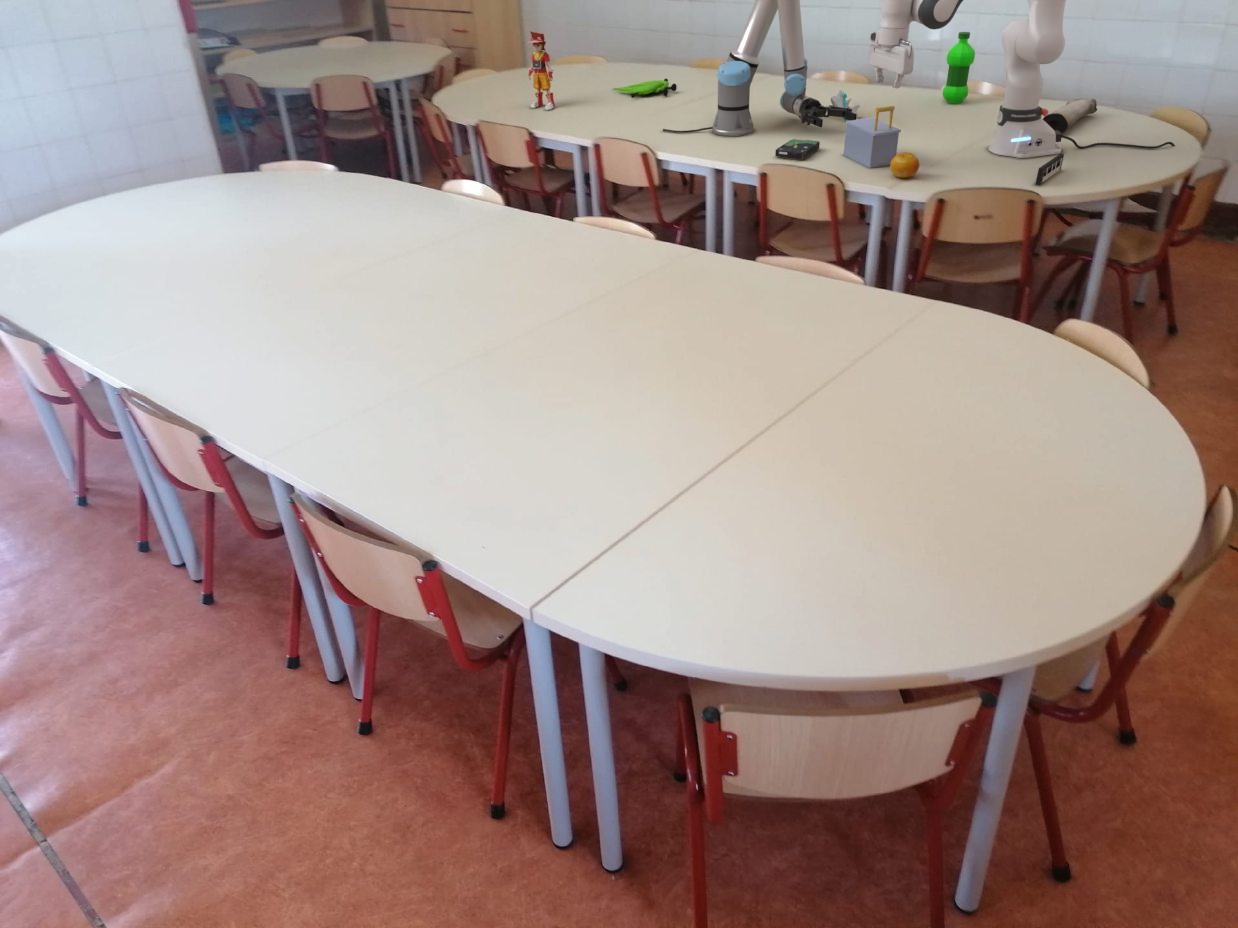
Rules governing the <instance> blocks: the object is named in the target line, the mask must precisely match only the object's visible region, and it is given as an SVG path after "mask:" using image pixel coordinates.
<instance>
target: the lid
mask: <svg viewBox="0 0 1238 928" xmlns="http://www.w3.org/2000/svg"><path fill="white" fill-rule="evenodd" d="M895 108H896V106H895V105H889V106H882V107H876V108H875V109H874V113H875V114H874V115H875V116H874V117H871V116H870V117H865V118H864V117H863V118H861V119H858V118H857V119H856V120H851V121H849V120H848V121H846V124H849V125H851V126H853V127H855V128H858V129H860V130H862V131H864V132H867V133H869V134H871V135H873V136H880V135H886V134H893V133H899V134H900V133H902V129H900V128H897V127H896V126H893V118H894V111H895ZM885 112H889V119H888V123H886V122H883V121H881V120H879V115H880V113H885Z"/></svg>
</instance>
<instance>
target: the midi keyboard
mask: <svg viewBox="0 0 1238 928" xmlns="http://www.w3.org/2000/svg"><path fill="white" fill-rule="evenodd" d="M1064 157H1065V153H1059V154H1057V155H1056V156H1055V157H1052V159H1051V160H1049V161H1047V162H1045V164H1042V165H1041V166H1039V167H1038V169H1037V175H1036V179H1035V186H1040V185H1042V183H1044V182H1045V181H1047V180H1048V179H1049V178H1051V177H1052V176H1054V175H1055V174H1056V173H1058V172H1060V171H1061V170H1062V165H1063V161H1064Z"/></svg>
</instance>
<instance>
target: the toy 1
mask: <svg viewBox="0 0 1238 928" xmlns="http://www.w3.org/2000/svg"><path fill="white" fill-rule="evenodd" d="M529 33H530V35H531V36H528V37H527V38H528V39H529V40H528V41H527V43H529V44H530V43H531V44H532V48H533V50H534V51H533V52H532V55H531V58H530V59H531V63H530V66H528V74H527V75H528V76H527V77H528V79H529V80H531V75H532V74H533V84H532V85H533V86H532V87H533V88H534V89H535V90H536V92H534V95H535V97H536V100H535V101H533V102H531V105H530V108H531V109H535V108H538V107H542V106H544V101H543V100H544V99H543V95H544V92H546V94H545V97H546V99H547V103H546V104H545V106H544V110H546V111H549V110H553V109H554V107H555V106H556V105H555V99H554V92H551V91H550V90H551V86H552V84H551V82H552V81H553V80H554V77H553V73H554V71H555V70H554V69H552V68H551V63H550V61H551V59H550V58H551V57H550V54H549V53H548V52H547V50H546V48H545V46H546V44H547V41H545V35H544V33H543V32H542V33H539V32H535V31H529Z"/></svg>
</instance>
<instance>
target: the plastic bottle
mask: <svg viewBox="0 0 1238 928" xmlns="http://www.w3.org/2000/svg"><path fill="white" fill-rule="evenodd" d="M970 36H971V32H970V31H959V32H958V36H957V39H958V42H957V43H956V44H954V45H953V46H952V47H951V48H950V49H949V50H948V52H947V54H946V63H947V64H948V69H947V70H948V71H947V76H946V77H947V78H946V84H945V85H944V87H943V90H942V97H943V99H944V100H945V101H946V102H947V103H948V104H960V103H961V102H963V101H964V100H966V98H967V96H968V95H969V85H968V79H969V73H970V67H971V65H972V64H973V63H974V61H975V57H976V51H975V49H974V47H972V45H971V44H970V43H969V42H968V41H969V39H970V38H971V37H970Z"/></svg>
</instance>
